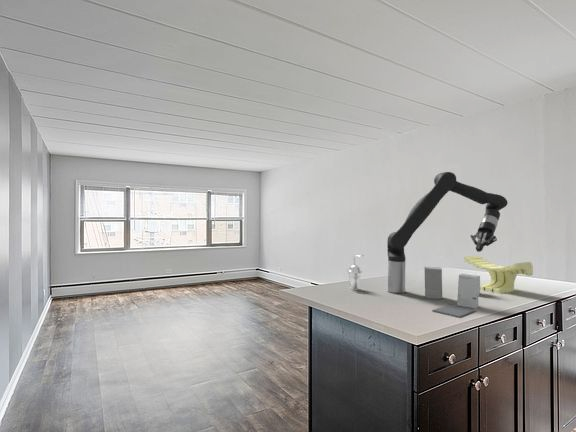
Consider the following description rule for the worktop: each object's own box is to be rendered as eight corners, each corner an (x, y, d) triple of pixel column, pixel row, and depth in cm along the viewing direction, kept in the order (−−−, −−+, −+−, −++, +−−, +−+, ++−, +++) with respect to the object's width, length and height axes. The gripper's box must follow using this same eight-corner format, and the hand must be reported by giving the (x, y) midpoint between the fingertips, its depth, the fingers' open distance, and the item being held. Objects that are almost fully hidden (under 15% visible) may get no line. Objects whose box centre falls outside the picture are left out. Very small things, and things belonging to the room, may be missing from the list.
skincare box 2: (457, 305, 164) (457, 274, 164) (460, 303, 169) (460, 273, 168) (476, 309, 159) (477, 276, 158) (479, 306, 163) (480, 275, 163)
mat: (449, 305, 164) (449, 304, 164) (476, 311, 155) (476, 309, 155) (432, 311, 154) (432, 310, 154) (459, 317, 145) (459, 316, 145)
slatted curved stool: (532, 293, 191) (532, 261, 190) (516, 296, 183) (516, 263, 183) (480, 283, 217) (480, 255, 217) (464, 286, 210) (464, 256, 209)
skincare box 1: (441, 296, 182) (441, 266, 182) (442, 300, 175) (442, 268, 175) (424, 295, 185) (424, 265, 185) (424, 298, 178) (424, 267, 178)
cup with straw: (352, 286, 205) (352, 253, 205) (365, 289, 199) (365, 254, 199) (344, 289, 199) (344, 254, 199) (357, 291, 193) (357, 255, 193)
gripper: (472, 220, 187) (462, 244, 179) (499, 221, 176) (490, 246, 169) (477, 230, 190) (467, 254, 182) (503, 231, 180) (494, 256, 172)
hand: (478, 250), depth 176 cm, fingers closed
